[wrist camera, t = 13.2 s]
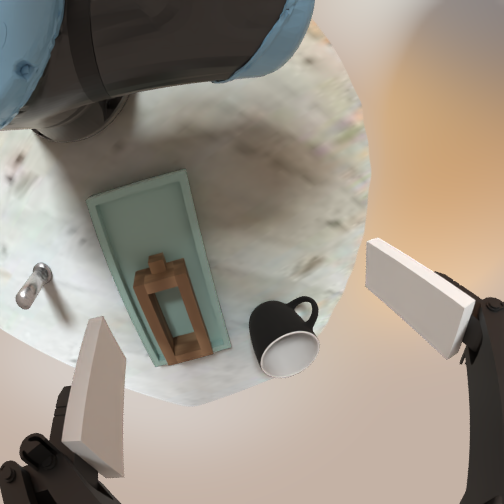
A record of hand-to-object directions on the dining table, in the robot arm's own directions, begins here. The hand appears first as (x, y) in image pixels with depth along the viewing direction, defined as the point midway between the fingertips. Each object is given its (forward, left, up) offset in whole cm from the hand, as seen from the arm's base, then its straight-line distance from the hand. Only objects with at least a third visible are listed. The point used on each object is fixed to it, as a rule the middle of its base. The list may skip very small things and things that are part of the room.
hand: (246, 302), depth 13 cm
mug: (+22, +8, -27) cm, 36 cm away
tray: (+11, -7, -27) cm, 30 cm away
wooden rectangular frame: (+16, -7, -26) cm, 31 cm away
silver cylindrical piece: (+5, -25, -27) cm, 37 cm away
